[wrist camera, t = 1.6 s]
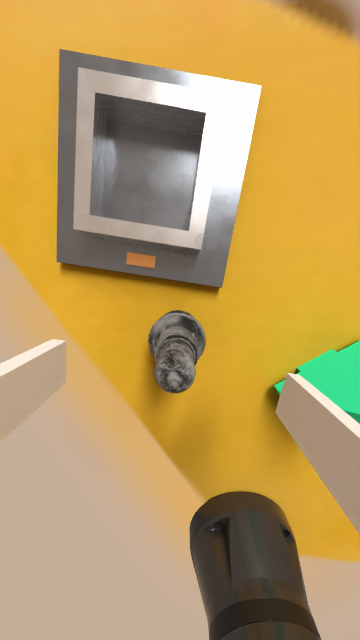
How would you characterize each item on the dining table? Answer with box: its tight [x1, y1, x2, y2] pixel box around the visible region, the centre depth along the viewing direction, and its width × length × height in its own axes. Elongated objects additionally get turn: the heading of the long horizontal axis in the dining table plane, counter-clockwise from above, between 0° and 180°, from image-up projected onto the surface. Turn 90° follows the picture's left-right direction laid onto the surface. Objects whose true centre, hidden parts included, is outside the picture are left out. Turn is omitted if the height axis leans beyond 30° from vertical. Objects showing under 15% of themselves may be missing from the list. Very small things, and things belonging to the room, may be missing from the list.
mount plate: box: [57, 49, 261, 288], centre depth 17 cm, size 18×18×4 cm
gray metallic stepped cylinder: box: [148, 310, 206, 393], centre depth 16 cm, size 6×6×12 cm
